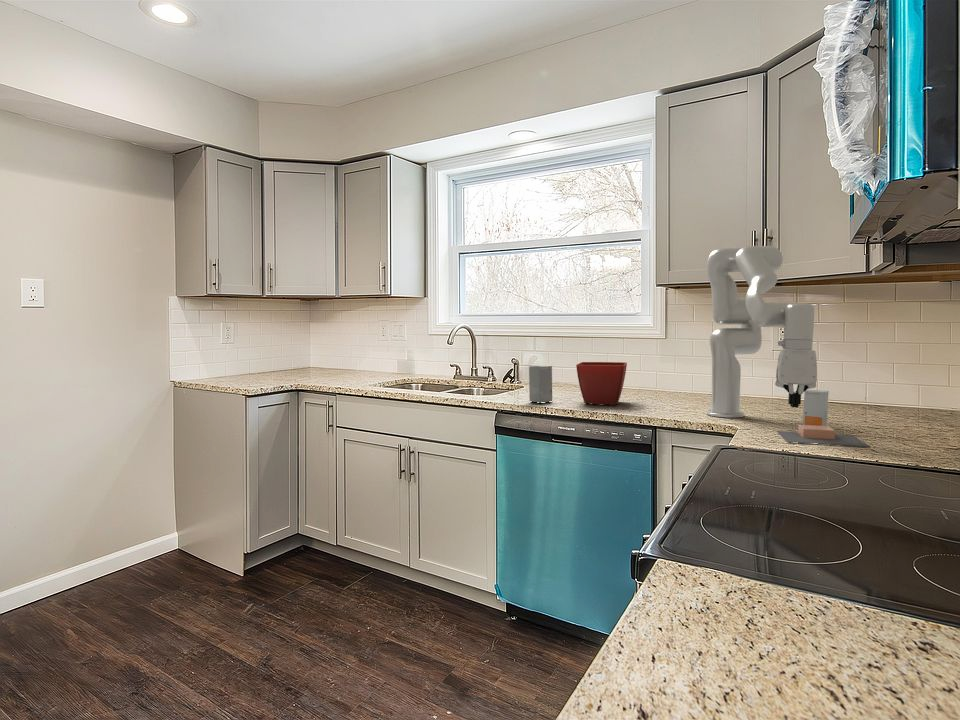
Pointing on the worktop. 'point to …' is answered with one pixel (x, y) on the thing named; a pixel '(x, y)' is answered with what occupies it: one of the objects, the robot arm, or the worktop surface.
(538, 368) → the grey canister
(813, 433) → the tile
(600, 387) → the plant pot
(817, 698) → the worktop surface
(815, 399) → the skincare box
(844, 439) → the mat
